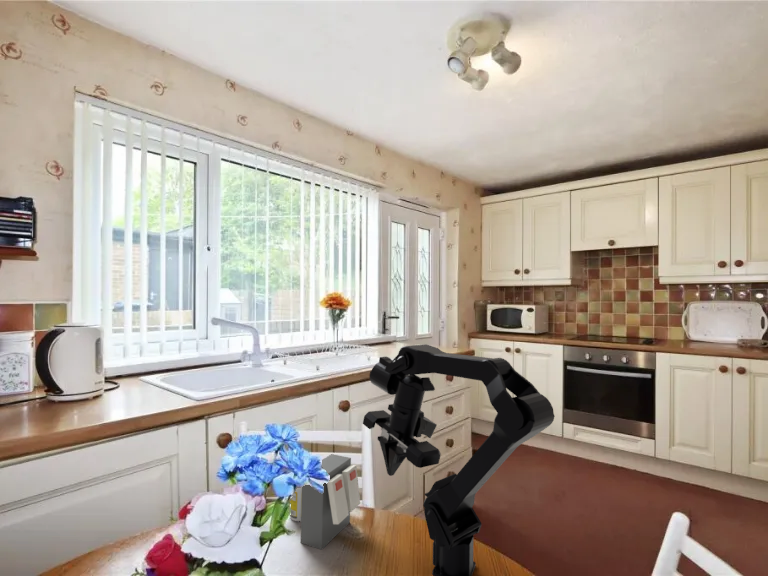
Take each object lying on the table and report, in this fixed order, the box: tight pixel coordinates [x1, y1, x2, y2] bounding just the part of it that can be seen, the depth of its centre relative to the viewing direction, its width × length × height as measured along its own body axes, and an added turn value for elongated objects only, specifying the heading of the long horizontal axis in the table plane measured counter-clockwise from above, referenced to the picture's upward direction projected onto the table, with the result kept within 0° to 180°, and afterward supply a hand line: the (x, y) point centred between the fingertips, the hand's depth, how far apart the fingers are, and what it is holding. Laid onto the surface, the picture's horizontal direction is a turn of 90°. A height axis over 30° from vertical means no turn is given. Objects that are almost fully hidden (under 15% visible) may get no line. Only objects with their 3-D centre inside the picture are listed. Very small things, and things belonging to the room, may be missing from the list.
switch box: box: [300, 453, 352, 550], centre depth 87 cm, size 5×11×14 cm, turn 155°
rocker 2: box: [342, 464, 361, 513], centre depth 87 cm, size 2×4×8 cm, turn 155°
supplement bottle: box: [289, 487, 302, 522], centre depth 93 cm, size 5×5×10 cm
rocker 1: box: [327, 474, 349, 524], centre depth 82 cm, size 2×4×8 cm, turn 155°
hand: (390, 474), depth 86 cm, fingers closed
